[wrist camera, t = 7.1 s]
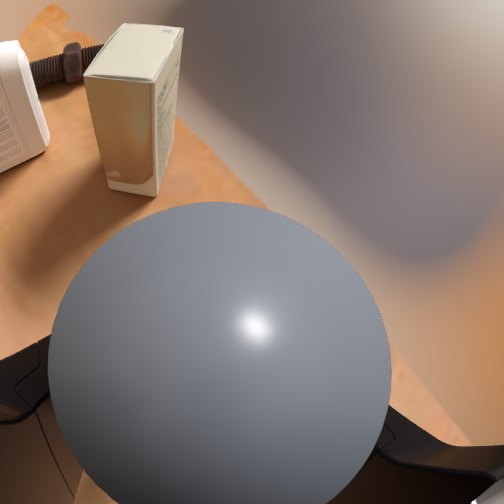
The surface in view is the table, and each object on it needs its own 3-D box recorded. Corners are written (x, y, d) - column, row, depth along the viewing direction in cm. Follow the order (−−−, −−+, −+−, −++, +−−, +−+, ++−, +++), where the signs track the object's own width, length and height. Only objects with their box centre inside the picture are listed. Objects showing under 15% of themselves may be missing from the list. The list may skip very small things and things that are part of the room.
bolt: (113, 83, 31) (-3, 117, 25) (109, 48, 30) (-4, 81, 24) (115, 62, 26) (-19, 102, 20) (111, 24, 25) (-18, 62, 19)
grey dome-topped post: (178, 438, 13) (194, 583, 2) (124, 359, 14) (-4, 302, 3) (255, 387, 15) (435, 391, 4) (202, 311, 16) (270, 158, 5)
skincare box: (129, 135, 26) (123, 19, 15) (175, 141, 27) (186, 24, 16) (106, 193, 24) (78, 74, 13) (156, 201, 25) (154, 80, 14)
